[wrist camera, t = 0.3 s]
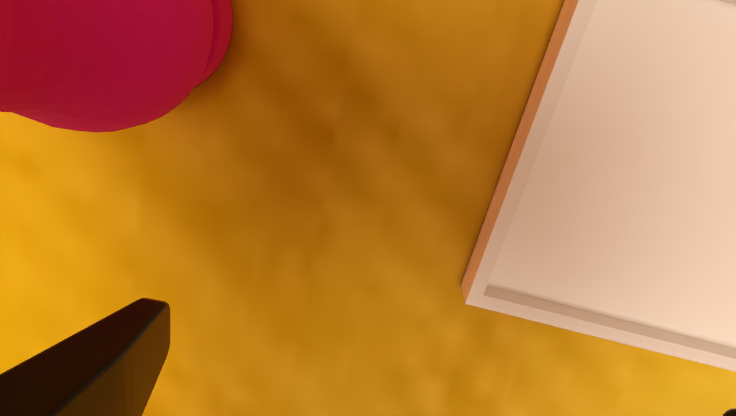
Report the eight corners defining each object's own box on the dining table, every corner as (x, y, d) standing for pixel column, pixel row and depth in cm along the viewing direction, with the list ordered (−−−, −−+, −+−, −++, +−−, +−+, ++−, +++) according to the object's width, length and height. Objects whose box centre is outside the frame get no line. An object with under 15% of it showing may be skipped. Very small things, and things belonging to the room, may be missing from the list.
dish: (754, 359, 24) (778, 382, 23) (460, 285, 24) (464, 303, 22) (951, 50, 19) (998, 53, 18) (584, -55, 19) (601, -61, 17)
